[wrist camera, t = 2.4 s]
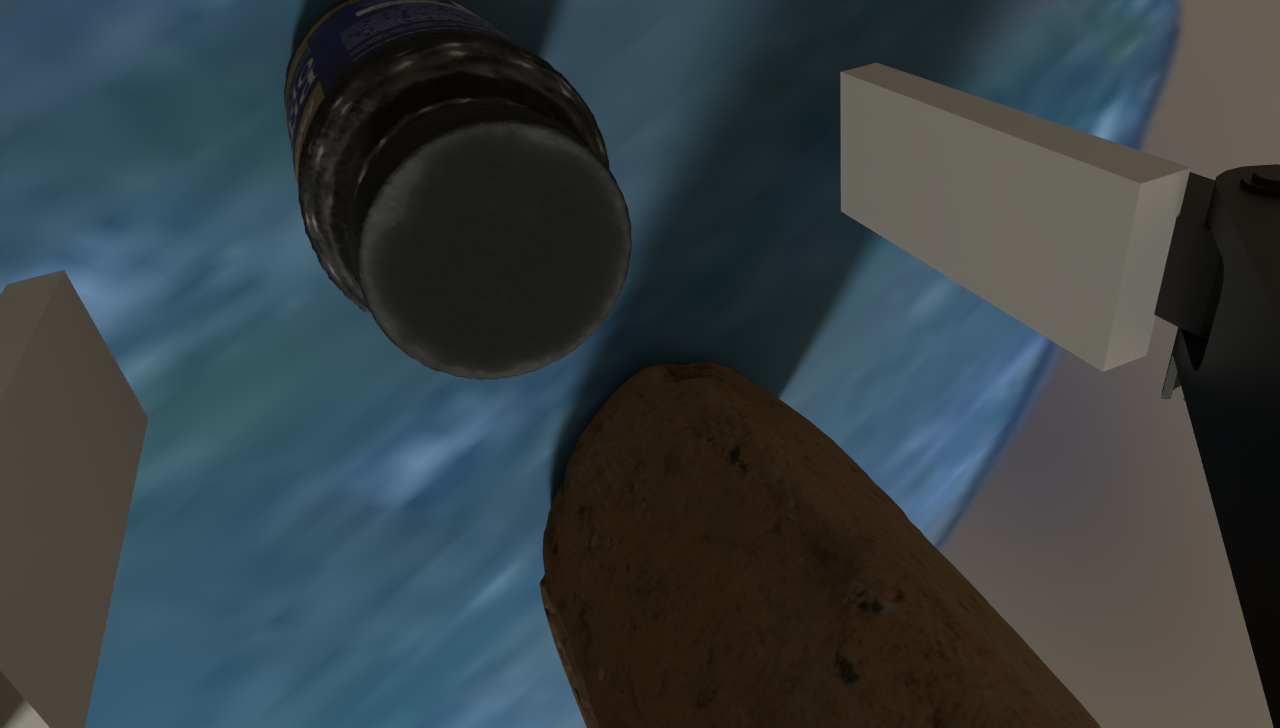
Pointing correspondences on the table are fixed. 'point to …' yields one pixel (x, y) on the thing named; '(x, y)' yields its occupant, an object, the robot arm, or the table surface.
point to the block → (763, 579)
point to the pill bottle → (454, 186)
